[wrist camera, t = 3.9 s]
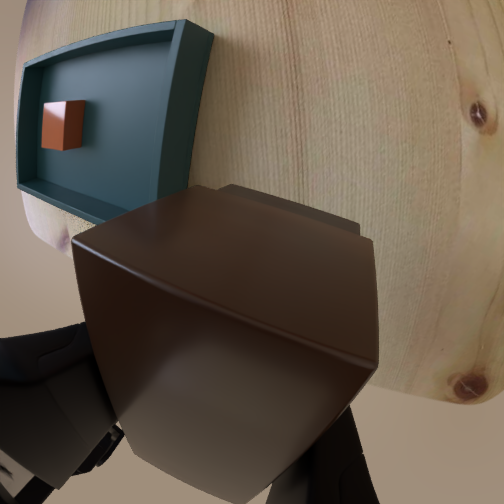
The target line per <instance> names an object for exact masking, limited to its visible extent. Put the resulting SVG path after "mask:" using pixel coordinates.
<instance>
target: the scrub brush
mask: <svg viewBox="0 0 504 504" xmlns="http://www.w3.org/2000/svg"><path fill="white" fill-rule="evenodd" d="M71 245H72V253H73V260H74V266H75V272H76V279H77V284H78V290H79V294H80V300H81V304H82V309H83V313H84V318H85V322H86V326H87V330H88V334H89V337H90V341H91V344H92V348H93V351H94V355H95V358H96V361H97V364H98V367H99V371H100V374H101V376H102V379H103V382H104V385H105V388H106V391H107V393H108V396H109V398H110V401H111V404H112V406H113V409H114V411H115V413H116V416H117V418H118V421H119V423H120V425H121V427H122V430H123V432H124V434H125V436H126V438H127V440H128V442H129V444H130V447H131V449H132V451H133V452H134V454H135V455H137V456H138V457H140V458H142V459H143V460H145V461H146V462H148V463H150V464H152V465H154V466H155V467H157V468H158V469H160V470H162V471H164V472H166V473H167V474H170V475H171V476H173V477H175V478H177V479H179V480H181V481H183V482H185V483H187V484H189V485H191V486H193V487H195V488H197V489H200V490H202V491H204V492H206V493H208V494H211V495H213V496H216V497H218V498H220V499H223V500H226V501H228V502H231V503H233V504H246V503H247V502H249V501H250V500H251V499H253V498H254V497H255V496H257V495H258V494H259V493H260V492H262V491H263V490H264V489H265V488H267V487H268V486H269V485H270V484H271V483H273V482H274V481H275V480H276V479H277V478H278V477H280V476H281V475H282V474H283V473H284V472H285V471H286V470H287V469H289V468H290V467H291V466H292V465H293V464H294V463H295V462H296V461H297V460H298V459H299V458H300V457H301V456H302V455H303V454H304V453H305V452H307V451H308V450H309V449H310V448H311V447H312V446H313V444H314V443H315V442H316V441H317V440H318V439H319V438H320V437H321V436H322V435H323V434H324V433H325V432H326V431H327V430H328V429H329V428H330V426H331V425H332V424H333V423H334V422H335V421H336V420H337V419H338V417H339V416H340V415H341V414H342V413H343V412H344V411H345V409H346V408H347V407H348V406H349V405H350V403H351V402H352V401H353V400H354V398H355V397H356V396H357V395H358V393H359V392H360V391H361V390H362V388H363V387H364V386H365V384H366V383H367V382H368V381H369V379H370V378H371V377H372V375H373V374H374V372H375V371H376V370H377V368H378V364H379V321H378V297H377V281H376V269H375V258H374V248H373V241H372V240H371V239H369V238H366V237H363V236H360V224H358V223H356V222H353V221H351V220H348V219H345V218H342V217H339V216H336V215H333V214H330V213H327V212H324V211H321V210H318V209H315V208H312V207H309V206H305V205H302V204H299V203H296V202H293V201H289V200H286V199H283V198H280V197H276V196H273V195H269V194H266V193H263V192H259V191H256V190H252V189H249V188H245V187H242V186H238V185H234V184H230V185H227V186H225V187H222V188H220V189H218V190H215V189H211V188H207V187H204V186H200V185H196V186H193V187H190V188H187V189H184V190H182V191H179V192H176V193H174V194H171V195H168V196H166V197H163V198H161V199H158V200H156V201H153V202H151V203H148V204H146V205H143V206H141V207H138V208H136V209H133V210H131V211H129V212H126V213H124V214H122V215H119V216H117V217H115V218H112V219H110V220H108V221H106V222H103V223H101V224H99V225H97V226H95V227H92V228H90V229H88V230H86V231H84V232H82V233H80V234H77V235H75V236H74V237H73V238H72V240H71Z"/></svg>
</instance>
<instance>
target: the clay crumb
mask: <svg viewBox="0 0 504 504" xmlns="http://www.w3.org/2000/svg"><path fill="white" fill-rule="evenodd" d="M84 108H85V100H70V101H58V102H49V103H44V111H43V125H42V148H48V149H54V150H60V151H66V150H70V149H75V148H81V146H82V130H83V118H84Z"/></svg>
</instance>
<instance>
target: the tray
mask: <svg viewBox="0 0 504 504" xmlns="http://www.w3.org/2000/svg"><path fill="white" fill-rule="evenodd" d="M213 37H214V34H213V33H211V32H209V31H208V30H206V29H204V28H202V27H200V26H198V25H196V24H194V23H192V22H191V21H189V20H187V19H184V20H174V21H166V22H159V23H153V24H147V25H141V26H136V27H131V28H126V29H122V30H117V31H113V32H109V33H105V34H102V35H98V36H95V37H91V38H88V39H85V40H81V41H78V42H75V43H72V44H69V45H67V46H64V47H61V48H59V49H56V50H53V51H51V52H48V53H46V54H44V55H41V56H39V57H37V58H34V59H32V60H30V61H28V62H26V63H24V65H23V71H22V77H21V84H20V92H19V100H18V111H17V127H16V172H17V188H19V189H20V190H22V191H24V192H26V193H29V194H31V195H33V196H35V197H37V198H39V199H41V200H43V201H45V202H47V203H50V204H52V205H54V206H56V207H58V208H60V209H62V210H65V211H67V212H69V213H71V214H73V215H76V216H78V217H80V218H82V219H84V220H87V221H89V222H91V223H93V224H96V225H99V224H101V223H103V222H106V221H108V220H110V219H112V218H115V217H117V216H119V215H122V214H124V213H126V212H129V211H131V210H133V209H136V208H138V207H141V206H143V205H146V204H148V203H151V202H153V201H156V200H158V199H161V198H163V197H166V196H168V195H171V194H174V193H176V192H179V191H182V190H184V189H187V184H188V176H189V168H190V161H191V154H192V147H193V140H194V134H195V128H196V122H197V116H198V110H199V104H200V99H201V93H202V88H203V83H204V78H205V73H206V68H207V64H208V59H209V54H210V50H211V46H212V41H213ZM70 100H85V108H84V118H83V130H82V146H81V148H75V149H70V150H66V151H60V150H54V149H48V148H42V125H43V111H44V103H49V102H58V101H70Z"/></svg>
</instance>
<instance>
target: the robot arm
mask: <svg viewBox="0 0 504 504" xmlns="http://www.w3.org/2000/svg"><path fill="white" fill-rule="evenodd" d="M117 422H118V418H117V416H116V413H115V411H114V409H113V406H112V404H111V401H110V398H109V396H108V393H107V391H106V388H105V385H104V382H103V379H102V376H101V374H100V371H99V367H98V364H97V361H96V358H95V355H94V351H93V348H92V344H91V341H90V337H89V334H88V330H87V326H86V322H82V323H80V324H75V325H70V326H67V327H63V328H59V329H55V330H50V331H45V332H39V333H34V334H28V335H21V336H15V337H8V338H0V504H42V503H43V502H44V501H45V500H46V499H47V497H48V496H49V495H50V494H51V493H52V491H53V490H54V489H55V488H56V489H58V490H59V489H60V488H61V487H62V486H63V485H64V484H65V482H66V481H67V480H68V479H69V478H70V477H71V476H74V475H79V474H83V473H87V472H90V471H91V470H92V469H93V468H94V467H95V465H96V466H97V467H99V466H101V465H102V464H103V463H104V462H105V461H106V460H107V459H108V458H109V457H110V456H111V454H112V453H113V451H114V450H115V448H116V447H117V445H118V444H119V443H120V441H121V440H122V438H123V437H124V435H125V434H124V432H123V430H121V429H120V428H119V427H118V426H117V425H116V423H117ZM362 453H363V450H362V446H361V442H360V439H359V435H358V432H357V428H356V425H355V421H354V418H353V415H352V411H351V408H350V405H349V406H348V407H347V408H346V409H345V411H344V412H343V413H342V414H341V415H340V416H339V417H338V419H337V420H336V421H335V422H334V423H333V424H332V425H331V426H330V428H329V429H328V430H327V431H326V432H325V433H324V434H323V435H322V436H321V437H320V438H319V439H318V440H317V441H316V442H315V443H314V444H313V446H312V447H311V448H310V449H309V450H308V451H307V452H305V453H304V454H303V455H302V456H301V457H300V458H299V459H298V460H297V461H296V462H295V463H294V464H293V465H292V466H291V467H290V468H289V469H287V470H286V471H285V472H284V473H283V474H282V475H281V476H280V477H278V478H277V479H276V480H275V481H274V482H273V483H272V486H271V489H270V492H269V495H268V498H267V501H266V504H380V503H379V501H378V498H377V495H376V492H375V490H374V487H373V484H372V481H371V478H370V474H369V471H368V468H367V464H366V460H365V457H364V454H362Z"/></svg>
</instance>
